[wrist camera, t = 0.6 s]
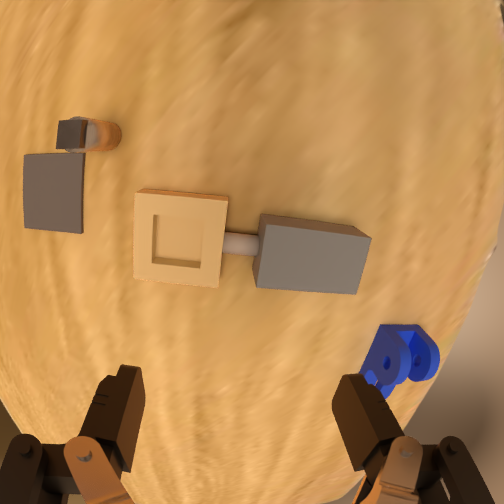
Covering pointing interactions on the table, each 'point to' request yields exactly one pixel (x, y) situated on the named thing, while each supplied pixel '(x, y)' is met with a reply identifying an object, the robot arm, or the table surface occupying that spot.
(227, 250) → the tray with grey block
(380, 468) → the robot arm
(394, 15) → the table surface
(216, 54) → the table surface
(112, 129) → the square capped bottle
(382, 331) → the bracket
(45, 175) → the mat
